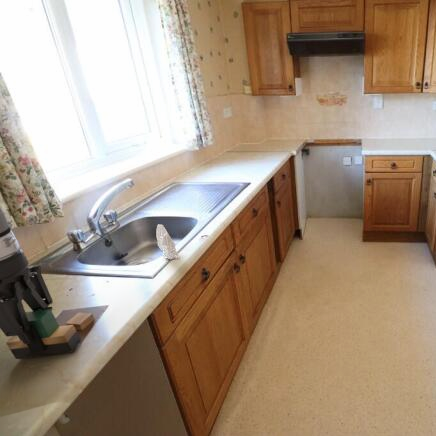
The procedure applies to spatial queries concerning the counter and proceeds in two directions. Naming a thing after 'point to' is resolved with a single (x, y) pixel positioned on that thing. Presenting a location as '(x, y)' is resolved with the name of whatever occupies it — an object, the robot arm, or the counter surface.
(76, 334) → the brush
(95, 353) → the counter surface
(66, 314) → the tray
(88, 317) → the tan wooden block
